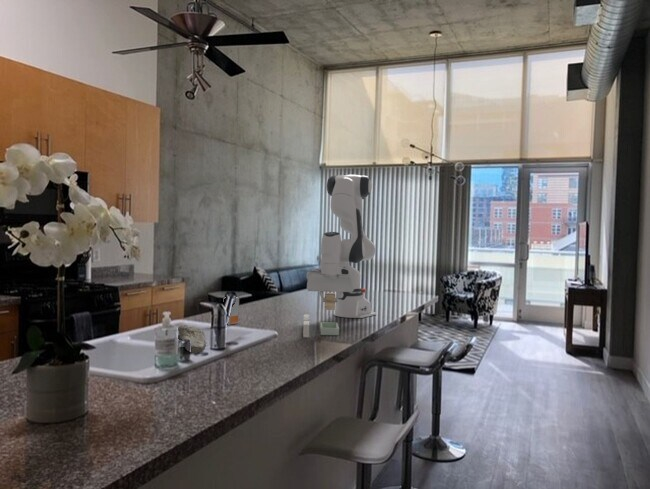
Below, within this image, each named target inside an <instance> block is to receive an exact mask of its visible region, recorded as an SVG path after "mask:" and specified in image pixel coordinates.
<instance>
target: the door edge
mask: <svg viewBox="0 0 650 489" xmlns="http://www.w3.org/2000/svg"><path fill="white" fill-rule="evenodd" d="M302 333H303V334H302V335H303V336H302V337H303V338H310V313H308V314H307V313H305V314H303V330H302Z"/></svg>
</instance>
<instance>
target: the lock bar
mask: <svg viewBox="0 0 650 489" xmlns="http://www.w3.org/2000/svg"><path fill="white" fill-rule="evenodd" d="M324 298H325V302H324V308H325V311H336V302H335V298H336V294H335V292H325V293H324Z"/></svg>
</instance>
